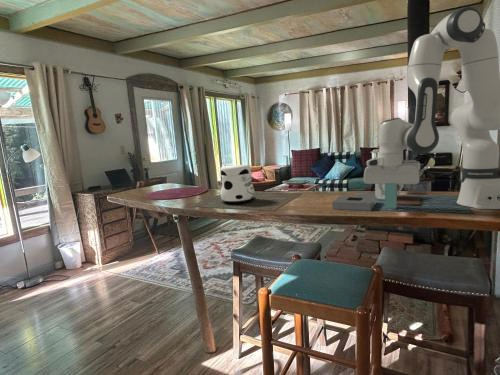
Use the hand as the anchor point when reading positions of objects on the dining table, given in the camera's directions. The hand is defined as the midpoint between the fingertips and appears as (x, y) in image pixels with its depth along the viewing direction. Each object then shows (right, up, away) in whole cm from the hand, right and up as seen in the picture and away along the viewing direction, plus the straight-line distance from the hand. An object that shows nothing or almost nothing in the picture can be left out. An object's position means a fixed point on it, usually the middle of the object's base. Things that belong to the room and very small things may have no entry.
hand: (390, 194), depth 128 cm
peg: (0, -5, +1) cm, 5 cm away
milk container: (-62, -4, +36) cm, 72 cm away
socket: (-12, -5, +8) cm, 15 cm away
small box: (+6, -2, +19) cm, 20 cm away
